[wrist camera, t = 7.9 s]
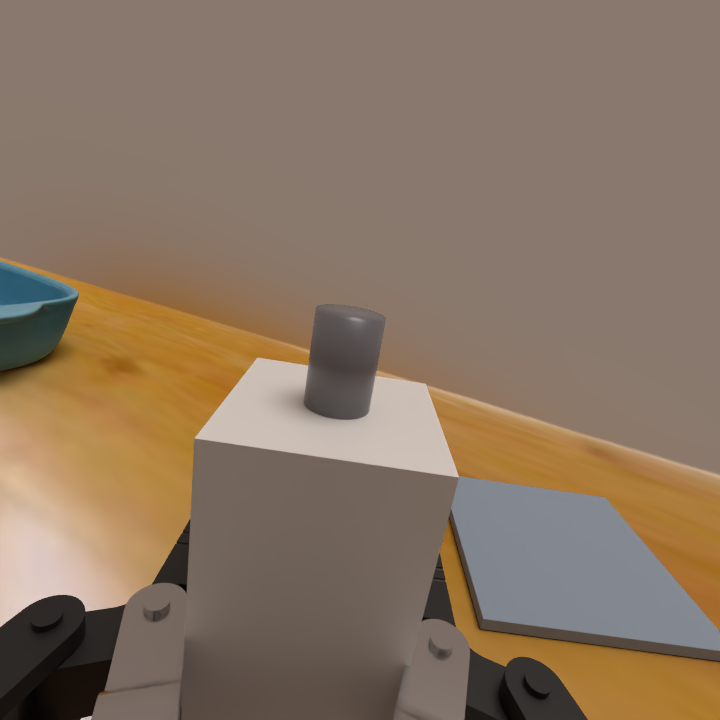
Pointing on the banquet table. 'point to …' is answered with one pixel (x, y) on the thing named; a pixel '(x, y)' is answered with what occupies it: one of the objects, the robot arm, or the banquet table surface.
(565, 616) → the rubber mat
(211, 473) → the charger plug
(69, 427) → the banquet table surface
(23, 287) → the casserole dish
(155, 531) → the banquet table surface
